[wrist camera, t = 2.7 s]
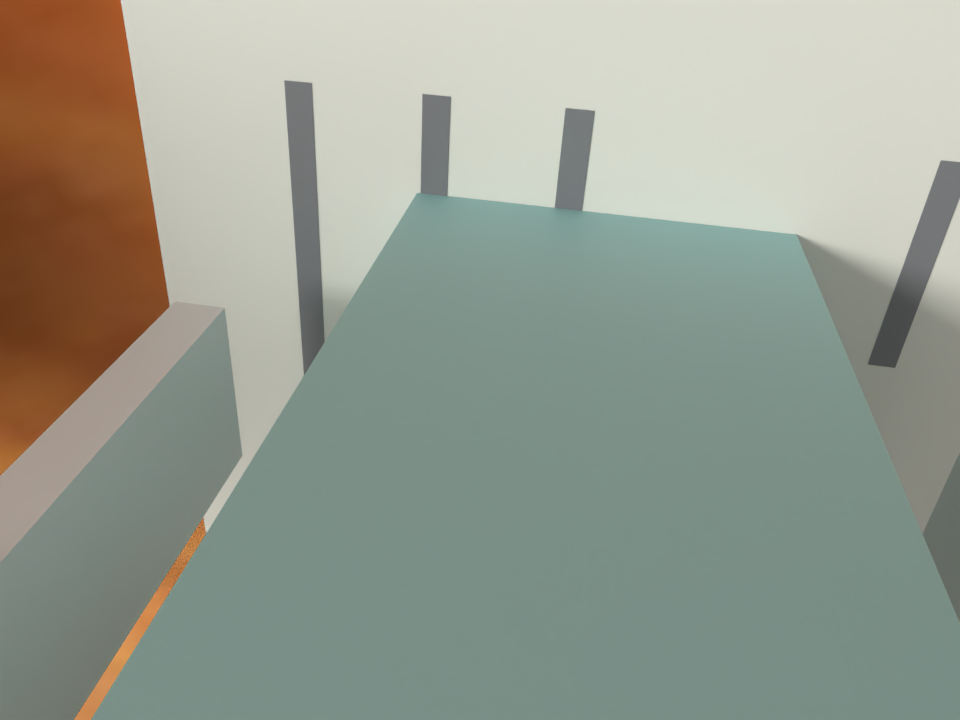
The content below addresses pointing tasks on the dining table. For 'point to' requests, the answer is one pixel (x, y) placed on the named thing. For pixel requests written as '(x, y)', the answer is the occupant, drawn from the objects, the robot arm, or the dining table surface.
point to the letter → (562, 161)
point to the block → (563, 499)
